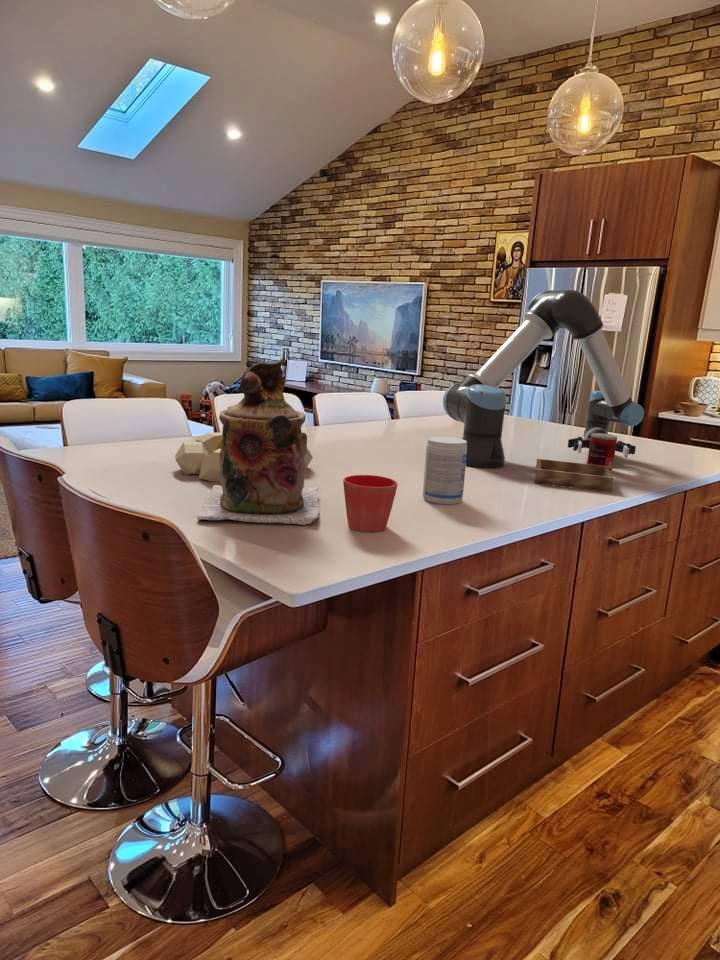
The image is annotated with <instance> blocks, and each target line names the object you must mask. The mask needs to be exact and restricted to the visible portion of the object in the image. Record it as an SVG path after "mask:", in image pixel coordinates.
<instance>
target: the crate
mask: <svg viewBox="0 0 720 960" xmlns="http://www.w3.org/2000/svg"><path fill="white" fill-rule="evenodd" d="M534 473H535V474H534V475H535V476H534V484H535V483H536V484H537V485H543V484H544V485H545V486H552V485H555V486H554V487H560V486H565V487H564V488H568V487H573V488H572V489H577V488H579V489H580V490H585V489H587V491H594V490H595V491H594V492H602V491H603V492H602V493H611V494H612V491H613V486H614V485H613V484H614V476H613V473H612V471H610V469H609V467H608V466H600V465H590V464H587V463H580V462H569V461H561V460H554V459H553V460H551V459H544V458H537V459H536V466H535V471H534ZM536 484H535V485H536Z"/></svg>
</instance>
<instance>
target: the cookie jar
mask: <svg viewBox="0 0 720 960" xmlns="http://www.w3.org/2000/svg"><path fill="white" fill-rule="evenodd" d="M283 362H284V358H280V359H279V360H277V361H276V362H258V363H255V364H253V365H252V366H250V367H249V368H247V369H246V370H245V371H244V373H243V374H242V377H241V380H240V383H239V388H241V390H242V393H243V396H244V397H243V398H242V399H240V401H239V402H238V403H236V404H233V405H231V406H232V407H231V406H229V407H230V408H228V407H227V408H228V409H224V410H221V411H220V413H219V415H218V416H219V417H218V419H219V421H220V423H221V424H222V432H221V433H222V436H223V440H222V447H221V451H220V454H219V461H220V471H219V481H220V482H219V484H220V485H219V484H215V485H212V487H211V491H210V493H209V494H208V496H207V498H206V499H205V500H204V502H203V506H201V510H200V511H199V512H198V514H197V515H196V519H197V521H201V520H206V521H207V520H208V521H223V520H224V521H225V520H233V521H238V522H239V521H240V522H243V523H244V522H245V523H247V522H248V523H260V524H261V523H262V524H263V523H265V524H268V523H269V524H290V525H291V524H295V525H300V526H301V525H302V526H305V525H310V524H311V523H312V522H314V521H315V520H316V519H318V516H319V514H320V505H319V497H318V492H319V491H318V490H319V487H318V486H308V487H304V486H305V475H306V469H305V463H304V455H306V453H307V448H308V446H307V445H308V436H307V433H305V432H303V431H302V426H303V424H304V423H305V421H306V419H307V418H306V414H305V413H303V412H300V411H299V410H295V409H294V408H293V407H292V406H291V405H290V404H289V403H287V401H286V400H285V396H284V390H285V386H286V385H285V384H286V380H285V378H284V377H283V376H284V370H282V365H283Z"/></svg>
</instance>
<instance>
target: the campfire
mask: <svg viewBox="0 0 720 960" xmlns="http://www.w3.org/2000/svg"><path fill="white" fill-rule="evenodd" d="M232 406H233V405H231V406H228V407H227V409H228V408H230V407H232ZM227 409H226V410H227ZM222 440H223V436H222V432H219V431H218V432H206V433H205V434H203V435H201V436H199V437H197V438H196V439H195V441H183V442H182V443H181V445H180V447H179V449H178V450H177V452H176V453H175V456H174V458H175V459H174V460H175V461H176V463H177V465H178V466H179V468H180V469H181V471H182V473H183V475H199V476H198V478H199V479H202V480H205V481H209V482H213V481H214V482H215V483H220V481H219V471H220V461H219V454H220V451H221V447H222ZM312 459H313V455H312V453H311V452H310V450H309V447H307V453H306V455H304V463H305V470H306V469H307V468H308V466H309V465H310V463H311V461H312ZM214 482H213V483H214Z"/></svg>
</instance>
